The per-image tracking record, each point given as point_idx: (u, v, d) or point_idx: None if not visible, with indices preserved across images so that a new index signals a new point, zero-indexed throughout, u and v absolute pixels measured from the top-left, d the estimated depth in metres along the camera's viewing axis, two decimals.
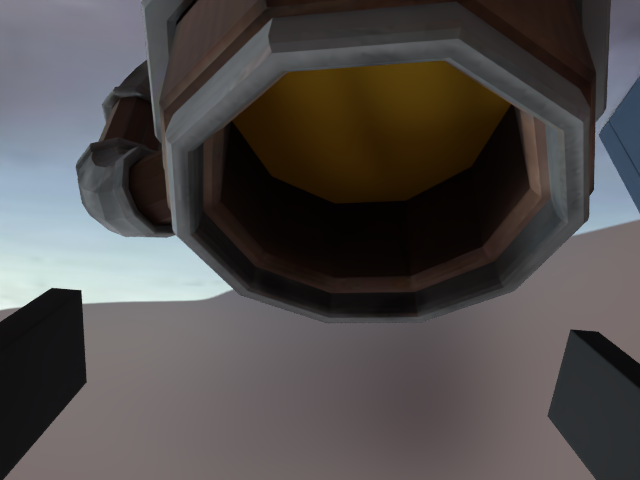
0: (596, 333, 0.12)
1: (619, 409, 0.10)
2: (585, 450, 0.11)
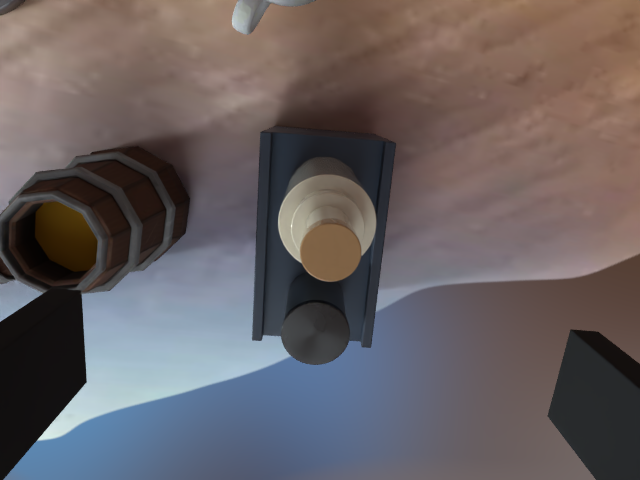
0: (596, 334, 0.12)
1: (619, 409, 0.10)
2: (585, 450, 0.11)
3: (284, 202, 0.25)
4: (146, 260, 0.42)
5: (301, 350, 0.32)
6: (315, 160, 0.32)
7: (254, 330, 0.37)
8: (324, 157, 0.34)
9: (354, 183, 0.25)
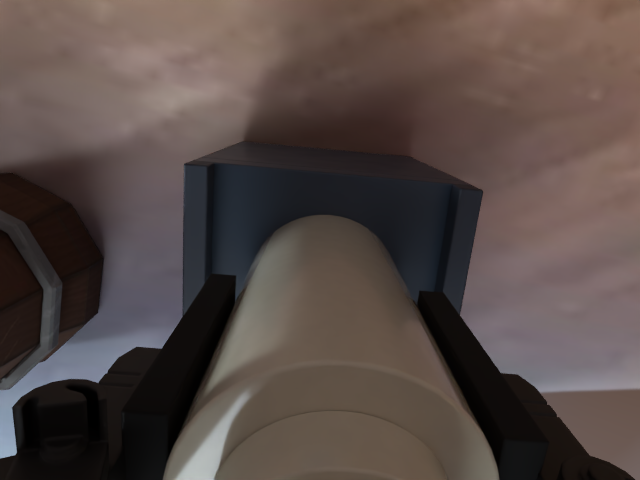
0: (442, 294, 0.14)
1: None
2: None
3: (178, 449, 0.07)
4: (12, 373, 0.24)
5: None
6: (304, 230, 0.14)
7: None
8: (325, 219, 0.16)
9: (433, 389, 0.07)
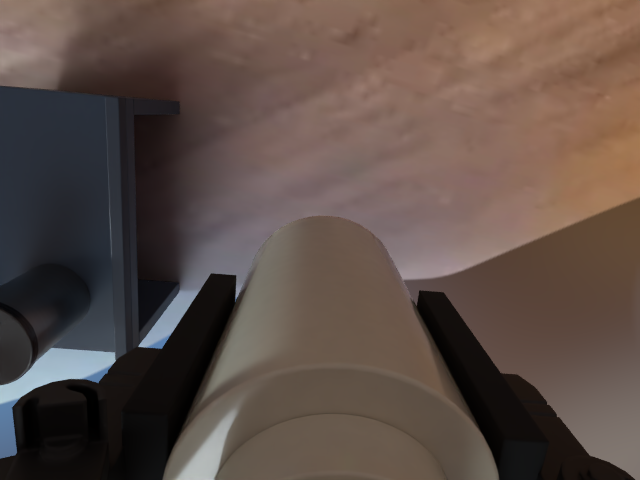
0: (442, 294, 0.14)
1: None
2: None
3: (177, 452, 0.07)
4: None
5: None
6: (304, 232, 0.14)
7: None
8: (325, 220, 0.15)
9: (432, 392, 0.07)
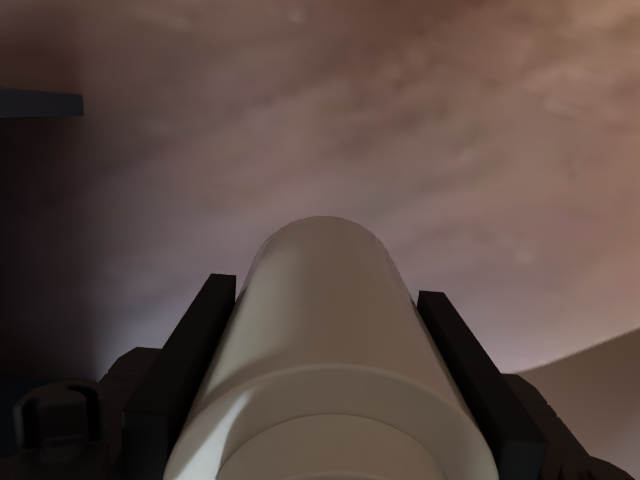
0: (442, 294, 0.14)
1: None
2: None
3: (177, 453, 0.07)
4: None
5: None
6: (304, 232, 0.14)
7: None
8: (325, 220, 0.15)
9: (432, 393, 0.07)
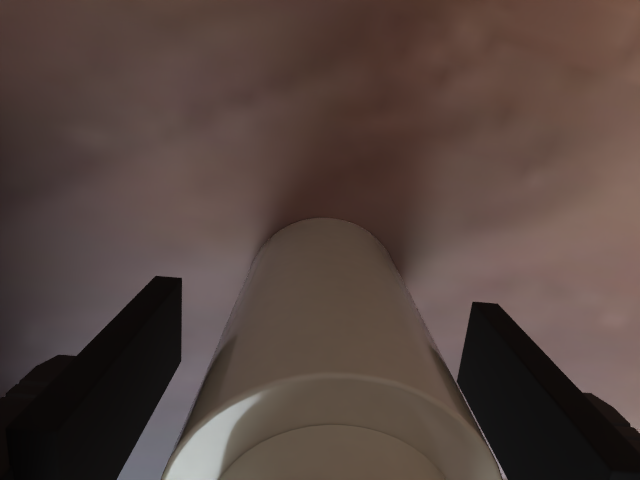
0: (496, 306, 0.13)
1: (498, 367, 0.11)
2: (477, 408, 0.12)
3: (173, 464, 0.07)
4: None
5: None
6: (304, 234, 0.14)
7: None
8: (325, 222, 0.15)
9: (436, 403, 0.07)
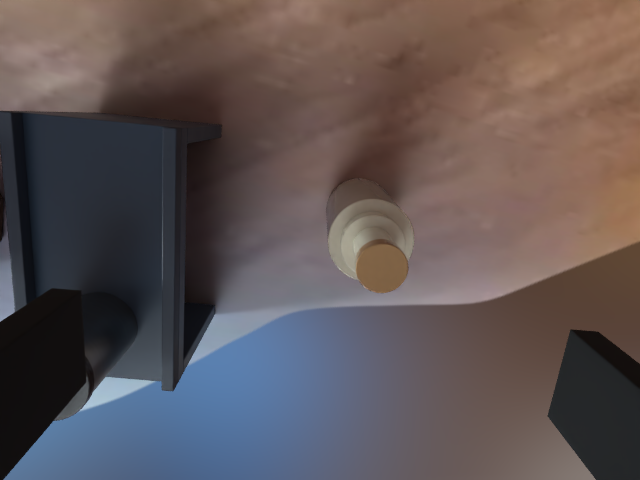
0: (596, 334, 0.12)
1: (619, 409, 0.10)
2: (585, 450, 0.11)
3: (334, 222, 0.29)
4: None
5: None
6: (354, 182, 0.36)
7: None
8: (361, 179, 0.37)
9: (396, 207, 0.29)
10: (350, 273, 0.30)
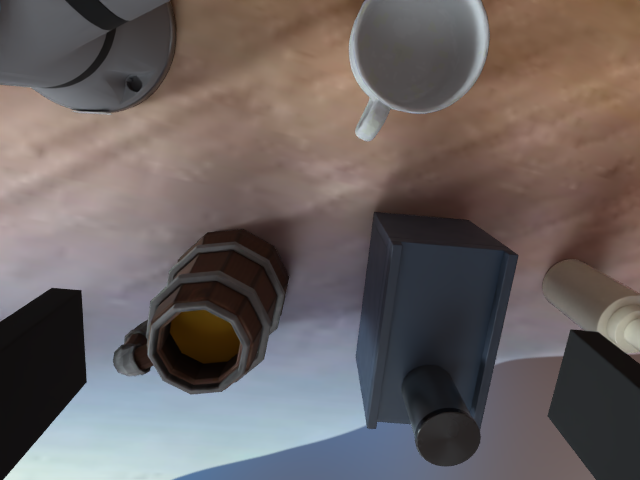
0: (596, 333, 0.12)
1: (619, 410, 0.10)
2: (585, 451, 0.11)
3: (604, 312, 0.39)
4: None
5: (433, 453, 0.34)
6: (576, 266, 0.46)
7: (370, 419, 0.39)
8: (576, 261, 0.47)
9: None
10: None
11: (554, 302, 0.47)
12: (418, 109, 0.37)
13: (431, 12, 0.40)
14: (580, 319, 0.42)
